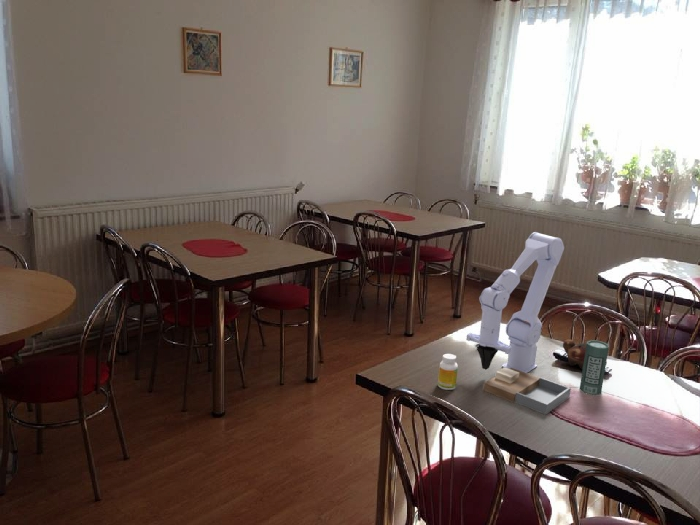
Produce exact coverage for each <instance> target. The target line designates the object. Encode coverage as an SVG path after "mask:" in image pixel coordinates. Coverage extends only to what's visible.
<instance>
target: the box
mask: <svg viewBox="0 0 700 525" xmlns="http://www.w3.org/2000/svg"><path fill="white" fill-rule="evenodd" d="M571 390H572V388H571V387H569V386H567V385H564V384H561V383H559V382H555V381H552V380H549V379H547V378H544V377H542V376H540V377H539V385H538V386H537V387H535V388H534V389H532V390H531V391H529V392H528V393H526V394H525V395H523V394H521V393H518V392H516V395H515V402H514V403H516V404H519V405H521V406H524V407H525V408H529V409H531V410H533V411H535V412H538V413H541V414H544V415H548V414H549V413H550V412H552V409H553V410H554V409H556V408H558V406H560V405H561V404H563V403H564V402H566V400H568V399H569V398H570V396H571V395H570V394H571Z"/></svg>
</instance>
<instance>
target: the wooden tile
mask: <svg viewBox="0 0 700 525" xmlns="http://www.w3.org/2000/svg"><path fill="white" fill-rule="evenodd" d="M495 377H496V378H497V379H500V380H502V381H505V382H508V383H512V382H514V381H515V380H517V379H519V372H517V371H514V370H511V369H508V368H505V367H502V368H501V369H499V370H497V371H495Z"/></svg>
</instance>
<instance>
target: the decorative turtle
mask: <svg viewBox="0 0 700 525" xmlns="http://www.w3.org/2000/svg"><path fill="white" fill-rule="evenodd" d="M586 345H587V343H586V342H585V343H584V342H581V343H578V344H576V342H575V341H574V340H572V339H565V340H564V341H563V343H562V347H563V350H564V351H565V353H566V354H567V359H568V360H567V361H568V364H569V365H570V366H571V367H574V366H576V365H578V366H579V369H580V370H583V364H584V358H585V352H586ZM607 363H608V362H607V361H606V365H607Z"/></svg>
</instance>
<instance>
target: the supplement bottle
mask: <svg viewBox="0 0 700 525" xmlns="http://www.w3.org/2000/svg"><path fill="white" fill-rule="evenodd" d="M441 359H442V360H441V361H440V363H439V366H438V367H439V369H438V379H437V386H438V387H439V388H440V389H442V390H445V391H448V390H450V391H451V390H455V389H456V387H457V380H458V379H457V378H458V370H459V365H458V363H457V355H455V354H452V353H445V354H443V355H442V358H441Z"/></svg>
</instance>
